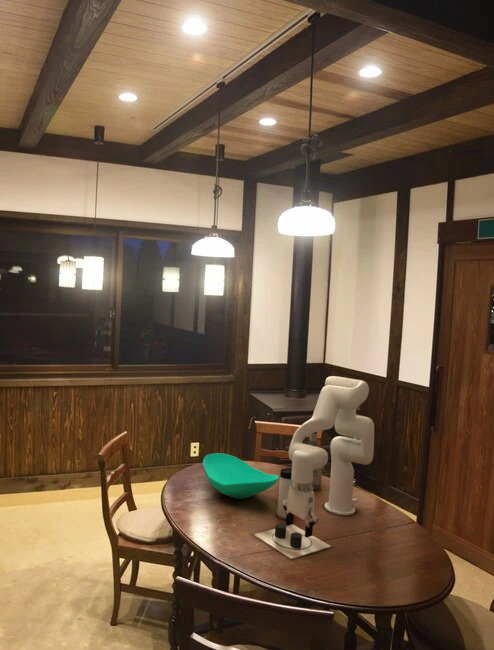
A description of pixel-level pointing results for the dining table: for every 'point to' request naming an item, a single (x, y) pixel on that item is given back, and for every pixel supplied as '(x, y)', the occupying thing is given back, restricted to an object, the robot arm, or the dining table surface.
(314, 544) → the drawing board
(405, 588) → the dining table surface
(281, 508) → the travel mug
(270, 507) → the dining table surface
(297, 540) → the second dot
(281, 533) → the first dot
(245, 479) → the table top decor
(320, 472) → the liquor
